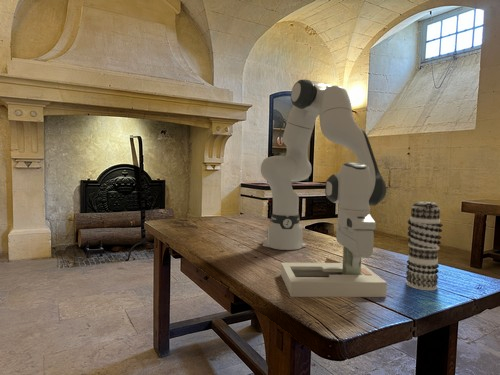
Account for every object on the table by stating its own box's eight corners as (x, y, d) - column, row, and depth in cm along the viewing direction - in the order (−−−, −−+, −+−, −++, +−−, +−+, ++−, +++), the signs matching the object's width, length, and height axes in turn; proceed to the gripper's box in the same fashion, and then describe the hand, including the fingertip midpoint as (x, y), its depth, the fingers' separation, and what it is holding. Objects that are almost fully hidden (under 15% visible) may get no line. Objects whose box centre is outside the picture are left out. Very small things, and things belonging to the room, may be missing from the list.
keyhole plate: (280, 274, 107) (281, 261, 107) (360, 275, 109) (361, 262, 108) (290, 296, 89) (291, 281, 89) (386, 296, 91) (386, 281, 91)
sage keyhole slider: (333, 278, 103) (334, 245, 103) (359, 278, 104) (360, 245, 103) (342, 288, 95) (343, 251, 95) (369, 288, 96) (371, 252, 95)
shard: (326, 261, 125) (326, 257, 125) (347, 263, 123) (347, 259, 123) (323, 270, 115) (323, 264, 115) (346, 272, 113) (346, 267, 113)
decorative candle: (424, 292, 94) (429, 204, 93) (397, 282, 103) (401, 200, 101) (446, 288, 98) (451, 203, 97) (418, 278, 107) (423, 200, 105)
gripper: (332, 213, 108) (330, 255, 109) (355, 224, 88) (353, 275, 89) (351, 213, 109) (349, 255, 110) (378, 224, 88) (376, 276, 89)
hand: (351, 264), depth 99 cm, fingers closed on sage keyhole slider, 4 cm apart
